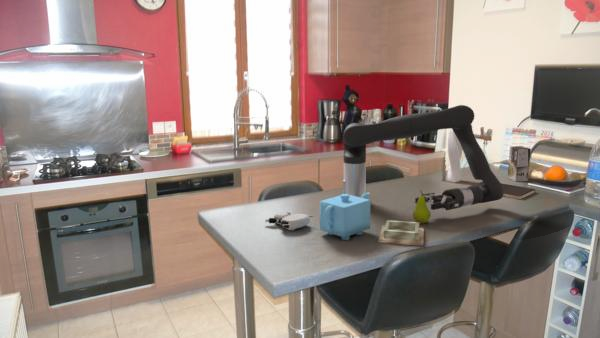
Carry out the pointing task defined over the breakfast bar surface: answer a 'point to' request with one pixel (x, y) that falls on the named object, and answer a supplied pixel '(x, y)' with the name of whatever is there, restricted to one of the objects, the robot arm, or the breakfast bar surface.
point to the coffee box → (519, 163)
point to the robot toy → (290, 220)
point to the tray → (402, 233)
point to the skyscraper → (453, 159)
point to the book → (513, 190)
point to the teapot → (345, 215)
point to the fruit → (421, 211)
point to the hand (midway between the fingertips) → (423, 203)
